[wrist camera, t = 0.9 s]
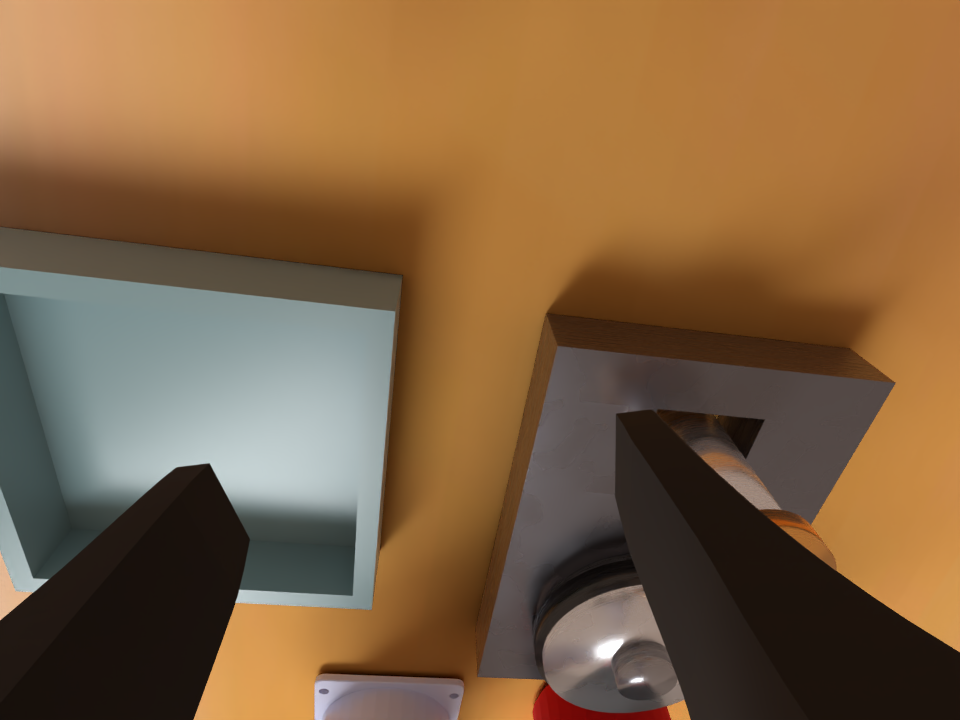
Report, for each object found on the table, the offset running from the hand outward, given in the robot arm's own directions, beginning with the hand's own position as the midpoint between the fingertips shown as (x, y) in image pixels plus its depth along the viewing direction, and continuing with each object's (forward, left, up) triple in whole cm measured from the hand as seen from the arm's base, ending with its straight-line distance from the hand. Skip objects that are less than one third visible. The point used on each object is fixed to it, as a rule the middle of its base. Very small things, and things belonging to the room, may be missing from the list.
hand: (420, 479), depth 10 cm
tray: (-7, +8, -10) cm, 15 cm away
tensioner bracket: (-10, -10, -10) cm, 18 cm away
